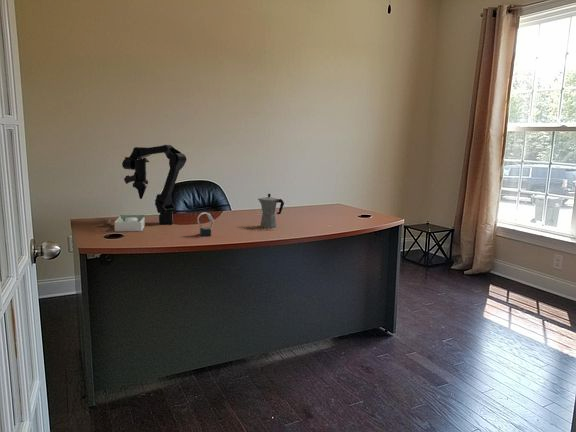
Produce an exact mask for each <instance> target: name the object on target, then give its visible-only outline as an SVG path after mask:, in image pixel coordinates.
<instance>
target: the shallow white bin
mask: <svg viewBox="0 0 576 432" xmlns="http://www.w3.org/2000/svg"><path fill="white" fill-rule="evenodd" d="M120 220H121V217H120V216H119V217H118V218H117V219H116V220H115V221H114V232H142V231H143V229H144V227H145V225H146V216H145V217H143V218H142V220H141V221H140V222H119V221H120Z"/></svg>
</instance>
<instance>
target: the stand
mask: <svg viewBox="0 0 576 432" xmlns="http://www.w3.org/2000/svg"><path fill="white" fill-rule="evenodd" d="M102 227H103V228H110V227H112V219H110V218H103V219H102Z"/></svg>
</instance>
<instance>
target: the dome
mask: <svg viewBox="0 0 576 432" xmlns="http://www.w3.org/2000/svg"><path fill="white" fill-rule="evenodd" d="M125 222H138V218H135V217H128V218H125Z"/></svg>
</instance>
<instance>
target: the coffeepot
mask: <svg viewBox="0 0 576 432" xmlns="http://www.w3.org/2000/svg"><path fill="white" fill-rule="evenodd" d="M257 200H258V201H259V204H260V206H261V212H262V215H261V218H260V219H261V220H260V225H259V227H261V228H263V229H275V228H277V221H276V220H277V219H276V214H277V215H281V213H282V210H283V208H284V205H285V202H284V200H283V199H282V198H274V197H271V193H268V194H267V197H260V198H258V199H257ZM278 203H280V204H279V208H278V212H276V209H277V204H278Z"/></svg>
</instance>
